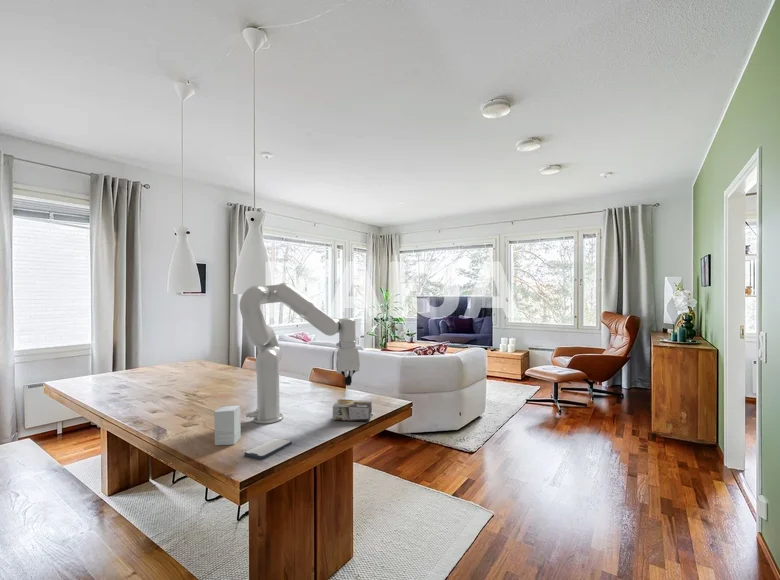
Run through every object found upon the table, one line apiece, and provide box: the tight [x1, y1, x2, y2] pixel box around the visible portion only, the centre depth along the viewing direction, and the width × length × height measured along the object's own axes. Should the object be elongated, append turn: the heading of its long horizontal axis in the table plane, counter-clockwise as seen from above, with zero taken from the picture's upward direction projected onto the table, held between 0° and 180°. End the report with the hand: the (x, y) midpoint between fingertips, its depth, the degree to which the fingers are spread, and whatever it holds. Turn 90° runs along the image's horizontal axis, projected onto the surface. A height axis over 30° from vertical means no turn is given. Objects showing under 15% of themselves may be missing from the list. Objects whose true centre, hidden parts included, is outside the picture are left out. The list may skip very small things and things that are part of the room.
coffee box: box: [332, 398, 373, 423], centre depth 168 cm, size 9×6×16 cm
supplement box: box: [213, 405, 242, 446], centre depth 143 cm, size 7×7×13 cm
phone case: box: [243, 437, 293, 461], centre depth 135 cm, size 9×2×16 cm
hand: (348, 384), depth 174 cm, fingers closed
